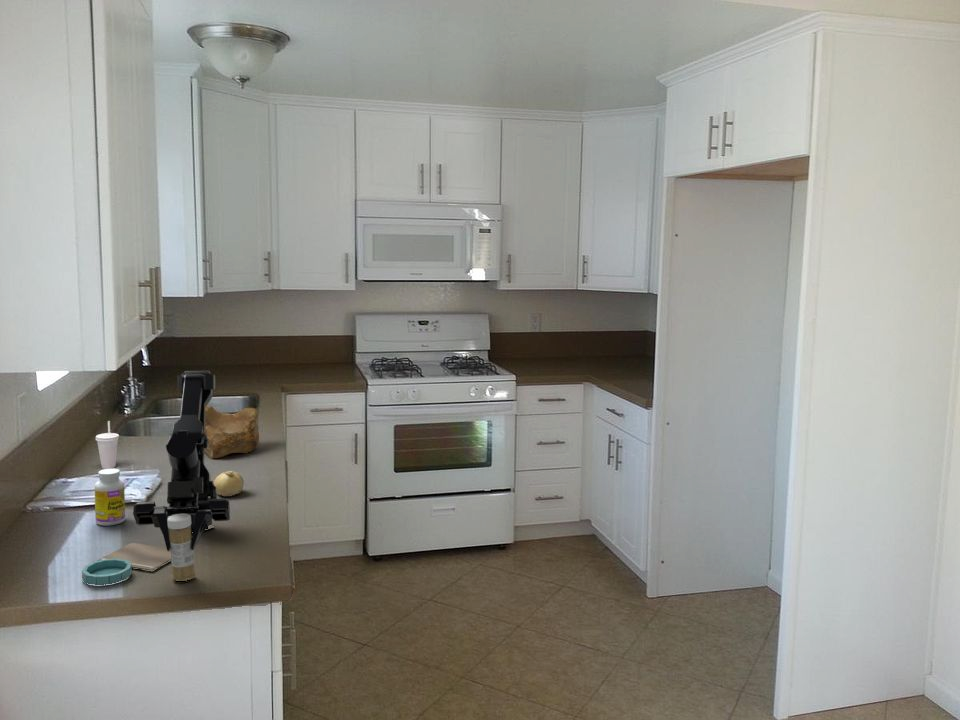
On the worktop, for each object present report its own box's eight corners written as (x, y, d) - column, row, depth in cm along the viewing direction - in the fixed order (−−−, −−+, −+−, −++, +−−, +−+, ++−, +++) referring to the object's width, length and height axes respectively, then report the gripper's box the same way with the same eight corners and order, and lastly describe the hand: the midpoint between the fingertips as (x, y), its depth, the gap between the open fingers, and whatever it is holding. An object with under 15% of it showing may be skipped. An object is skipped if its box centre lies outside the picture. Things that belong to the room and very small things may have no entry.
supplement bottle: (106, 528, 196) (104, 476, 194) (89, 522, 199) (87, 472, 197) (131, 520, 201) (129, 470, 199) (114, 515, 205) (112, 465, 203)
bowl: (105, 565, 175) (104, 556, 175) (141, 571, 172) (140, 562, 172) (72, 582, 166) (72, 572, 166) (110, 589, 164) (109, 579, 163)
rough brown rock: (183, 465, 251) (183, 419, 248) (184, 447, 267) (184, 403, 263) (261, 463, 259) (262, 418, 255) (258, 446, 274) (259, 403, 271)
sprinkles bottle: (189, 571, 172) (184, 511, 170) (199, 578, 169) (194, 516, 167) (168, 578, 169) (163, 516, 167) (178, 585, 166) (173, 522, 164)
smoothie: (119, 469, 243) (118, 423, 241) (96, 470, 241) (94, 424, 238) (120, 463, 249) (118, 418, 247) (97, 464, 246) (95, 419, 244)
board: (132, 544, 186) (132, 542, 186) (184, 553, 183) (184, 550, 182) (97, 563, 176) (97, 559, 176) (152, 572, 172) (152, 569, 172)
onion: (207, 495, 222) (206, 470, 221) (228, 488, 229) (228, 463, 228) (229, 501, 218) (228, 475, 217) (250, 493, 225) (250, 468, 224)
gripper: (132, 464, 167) (125, 536, 158) (228, 461, 171) (225, 531, 162) (140, 489, 176) (133, 558, 167) (231, 485, 180) (228, 553, 171)
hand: (180, 549), depth 167 cm, fingers closed on sprinkles bottle, 4 cm apart
